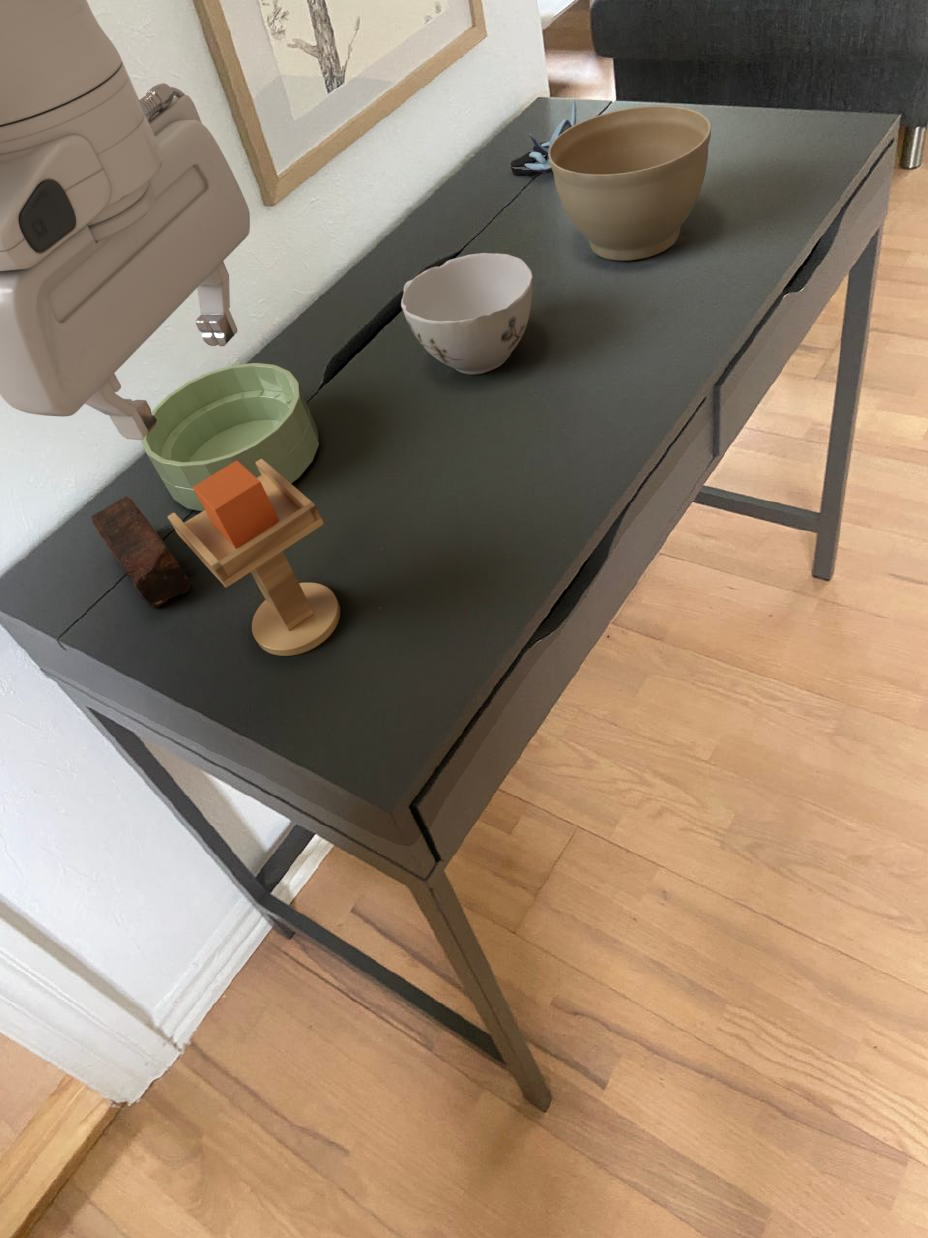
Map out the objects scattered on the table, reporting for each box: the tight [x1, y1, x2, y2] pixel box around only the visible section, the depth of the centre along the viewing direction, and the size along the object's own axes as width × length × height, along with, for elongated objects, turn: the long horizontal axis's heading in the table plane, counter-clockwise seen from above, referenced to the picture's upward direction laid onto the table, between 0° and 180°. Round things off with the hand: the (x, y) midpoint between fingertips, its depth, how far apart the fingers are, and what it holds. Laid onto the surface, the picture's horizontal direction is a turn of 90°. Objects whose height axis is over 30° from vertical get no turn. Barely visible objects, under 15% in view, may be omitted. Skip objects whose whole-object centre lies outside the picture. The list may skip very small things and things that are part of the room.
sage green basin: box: [140, 362, 320, 512], centre depth 86 cm, size 15×15×6 cm
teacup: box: [400, 252, 533, 375], centre depth 89 cm, size 15×12×8 cm
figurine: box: [510, 99, 577, 176], centre depth 114 cm, size 10×12×8 cm
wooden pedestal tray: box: [167, 459, 341, 657], centre depth 68 cm, size 8×8×12 cm
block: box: [193, 461, 279, 548], centre depth 63 cm, size 4×4×4 cm
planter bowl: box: [548, 104, 712, 262], centre depth 96 cm, size 16×16×11 cm
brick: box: [91, 496, 191, 609], centre depth 78 cm, size 11×4×5 cm, turn 35°
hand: (184, 383), depth 56 cm, fingers open, 8 cm apart
